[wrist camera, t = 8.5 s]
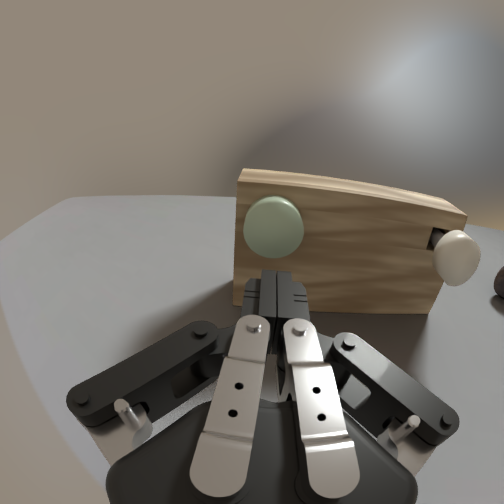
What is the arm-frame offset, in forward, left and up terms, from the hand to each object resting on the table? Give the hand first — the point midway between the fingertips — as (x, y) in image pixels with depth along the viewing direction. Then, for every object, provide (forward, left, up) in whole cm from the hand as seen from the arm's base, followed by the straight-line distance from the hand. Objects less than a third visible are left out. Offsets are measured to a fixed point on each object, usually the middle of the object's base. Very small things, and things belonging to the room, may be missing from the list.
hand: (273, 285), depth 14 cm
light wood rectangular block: (-8, -11, -9) cm, 16 cm away
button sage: (0, -9, -2) cm, 10 cm away
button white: (-16, -7, -2) cm, 18 cm away
